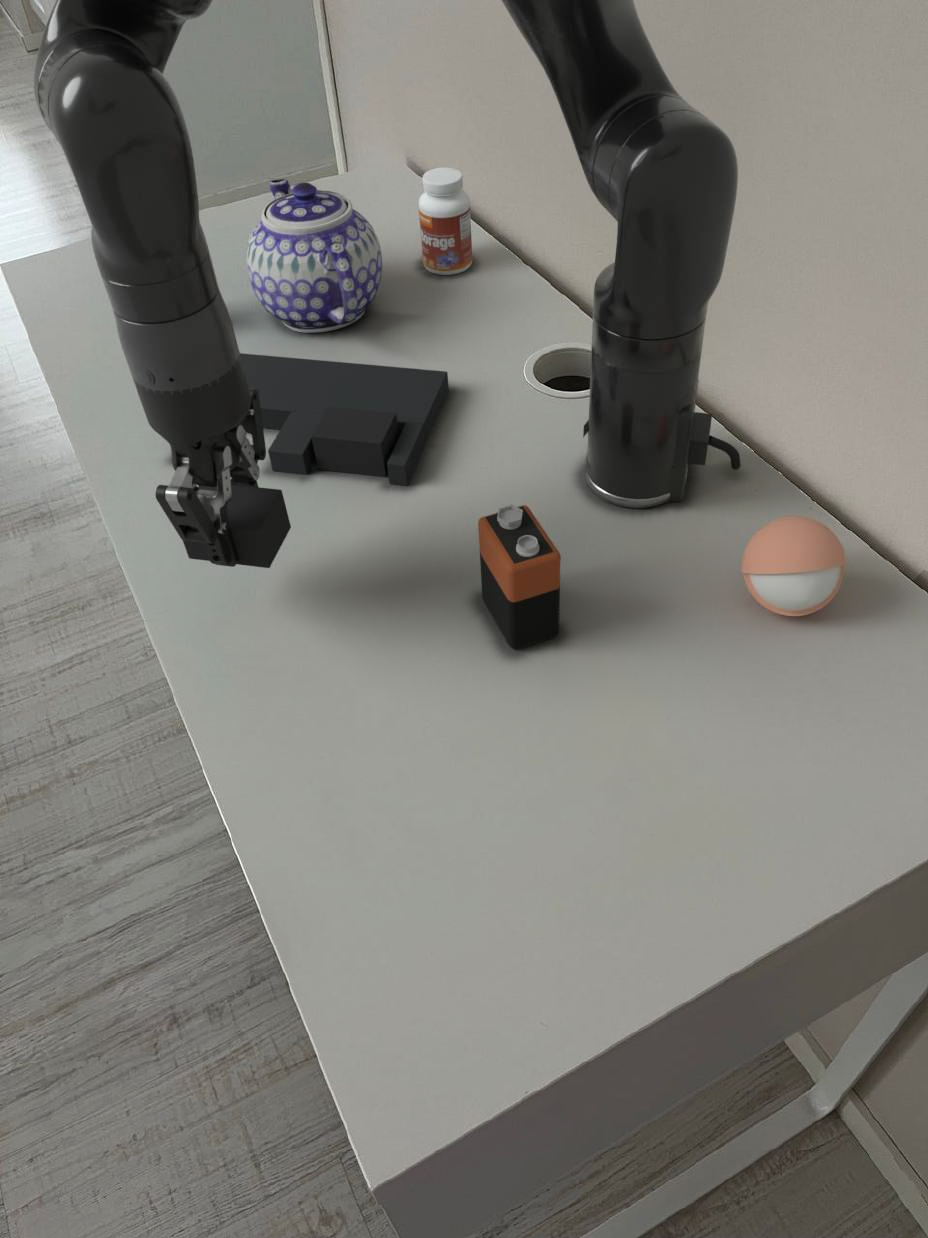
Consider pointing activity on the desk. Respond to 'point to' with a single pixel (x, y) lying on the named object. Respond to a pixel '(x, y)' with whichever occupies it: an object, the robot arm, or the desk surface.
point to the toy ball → (793, 566)
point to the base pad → (343, 405)
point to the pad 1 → (251, 525)
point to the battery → (519, 575)
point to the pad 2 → (355, 441)
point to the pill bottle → (445, 222)
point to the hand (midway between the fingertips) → (239, 538)
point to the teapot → (313, 259)
